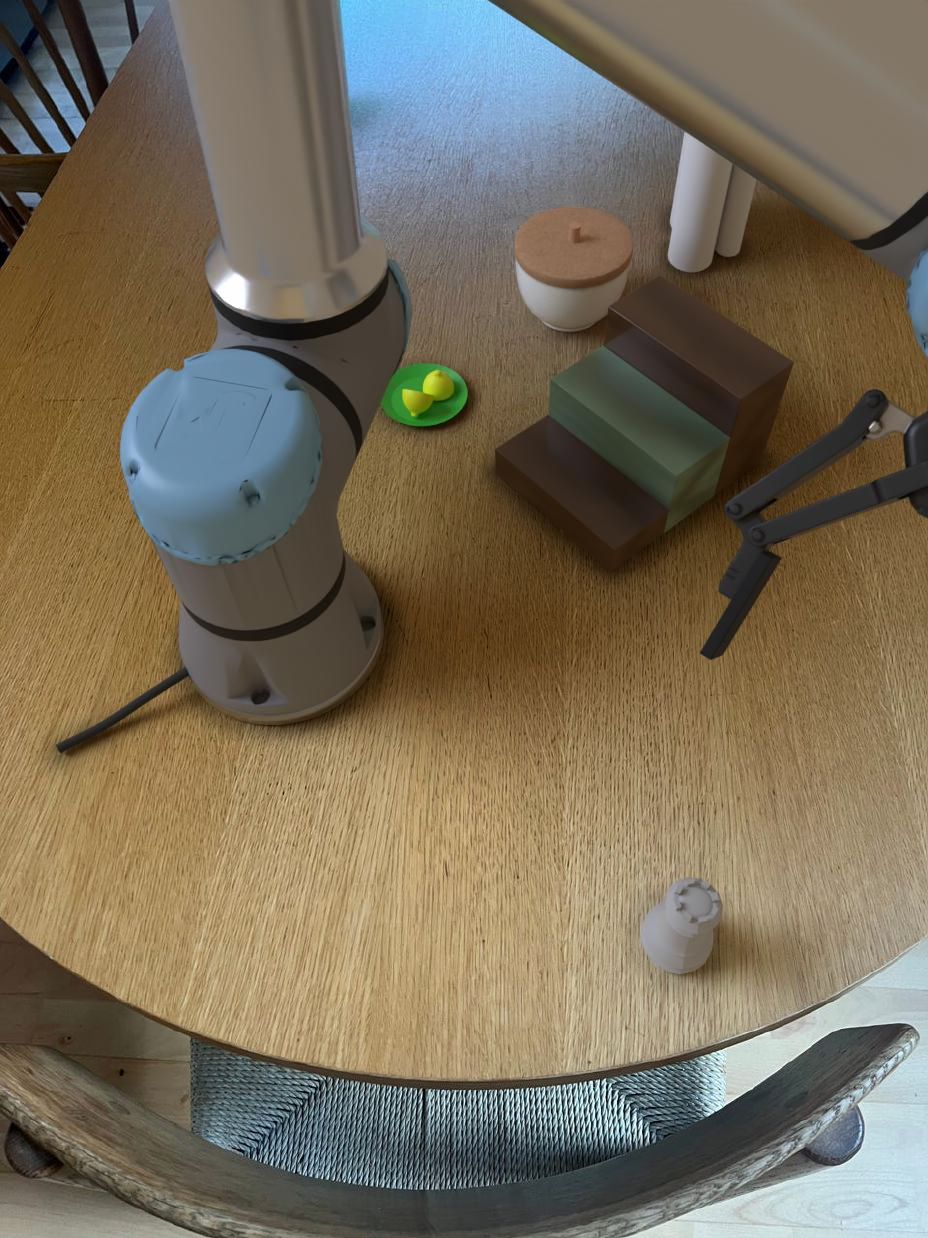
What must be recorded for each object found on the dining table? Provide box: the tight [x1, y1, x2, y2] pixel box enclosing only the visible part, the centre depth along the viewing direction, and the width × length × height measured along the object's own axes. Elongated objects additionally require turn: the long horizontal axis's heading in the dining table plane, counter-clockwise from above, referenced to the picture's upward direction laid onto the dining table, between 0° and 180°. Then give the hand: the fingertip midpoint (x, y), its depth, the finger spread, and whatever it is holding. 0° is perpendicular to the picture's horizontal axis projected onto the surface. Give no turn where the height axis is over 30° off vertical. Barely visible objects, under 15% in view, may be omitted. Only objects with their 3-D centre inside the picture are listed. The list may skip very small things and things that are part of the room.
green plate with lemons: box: [380, 362, 468, 427], centre depth 88 cm, size 8×8×3 cm
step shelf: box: [494, 274, 795, 574], centre depth 79 cm, size 18×14×11 cm
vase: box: [667, 131, 758, 273], centre depth 92 cm, size 11×7×20 cm, turn 172°
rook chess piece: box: [640, 876, 724, 975], centre depth 58 cm, size 4×4×8 cm
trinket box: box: [514, 206, 634, 333], centre depth 91 cm, size 11×11×9 cm
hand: (818, 722), depth 53 cm, fingers open, 13 cm apart
